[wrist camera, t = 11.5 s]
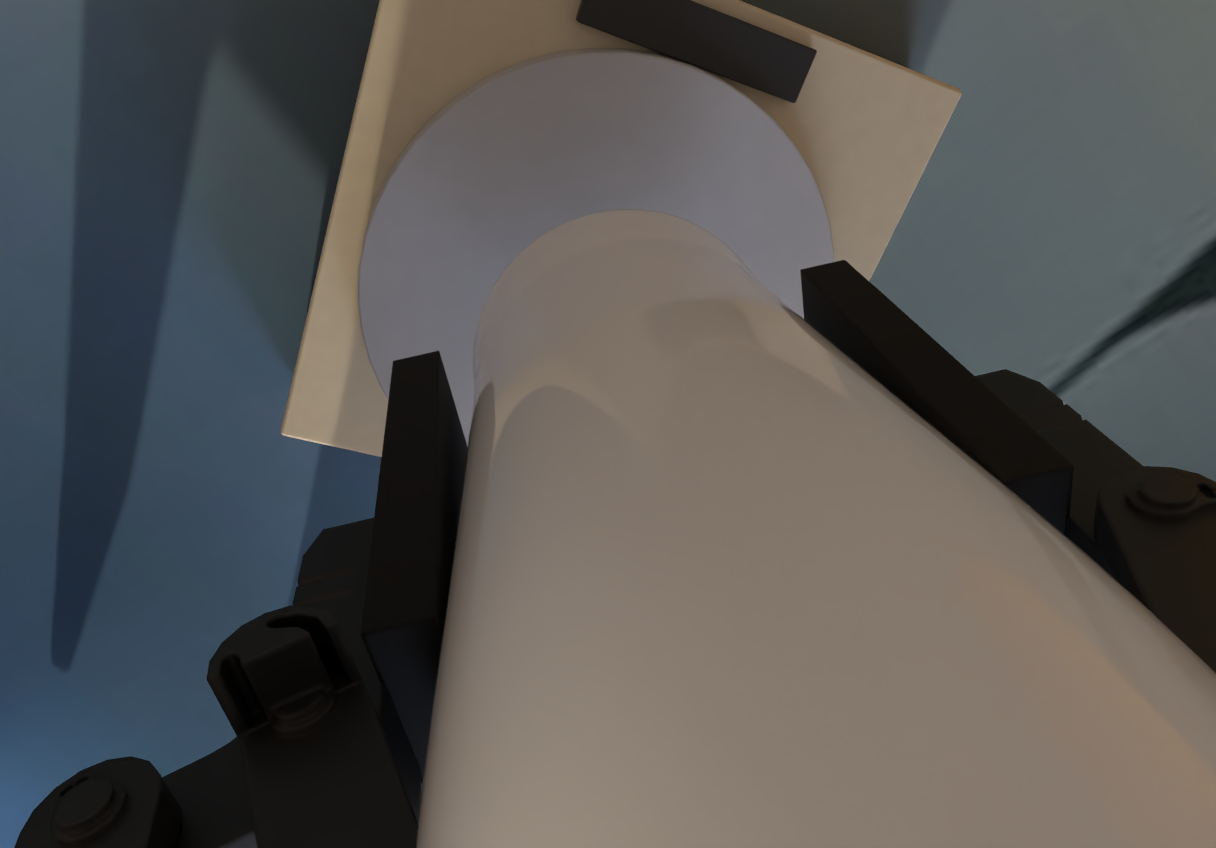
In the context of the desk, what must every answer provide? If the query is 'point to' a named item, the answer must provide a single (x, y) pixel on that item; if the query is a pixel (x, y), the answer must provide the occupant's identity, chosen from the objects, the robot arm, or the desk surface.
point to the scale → (587, 167)
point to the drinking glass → (769, 596)
